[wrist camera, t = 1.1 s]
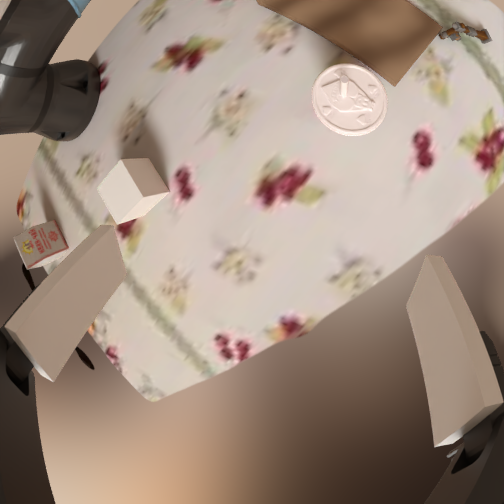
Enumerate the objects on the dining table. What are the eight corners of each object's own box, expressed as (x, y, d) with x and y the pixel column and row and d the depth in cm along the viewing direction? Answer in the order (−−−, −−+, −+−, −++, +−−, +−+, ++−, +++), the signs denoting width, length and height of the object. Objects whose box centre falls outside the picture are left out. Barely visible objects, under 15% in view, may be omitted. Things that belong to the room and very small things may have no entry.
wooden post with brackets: (432, 30, 20) (453, 16, 16) (466, 38, 21) (487, 28, 16) (438, 42, 21) (461, 29, 16) (472, 49, 21) (493, 40, 17)
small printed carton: (62, 257, 48) (25, 273, 39) (48, 229, 48) (11, 242, 39) (68, 248, 47) (29, 264, 38) (54, 219, 46) (15, 232, 37)
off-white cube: (124, 183, 39) (96, 188, 34) (149, 157, 37) (120, 158, 31) (144, 216, 40) (116, 224, 34) (170, 191, 37) (143, 197, 32)
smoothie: (327, 83, 27) (319, 31, 15) (380, 103, 26) (408, 62, 14) (311, 132, 30) (292, 108, 17) (364, 153, 29) (384, 143, 16)
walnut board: (258, 4, 26) (256, 0, 25) (309, -44, 21) (308, -48, 20) (394, 86, 25) (396, 84, 24) (440, 30, 20) (442, 27, 19)
